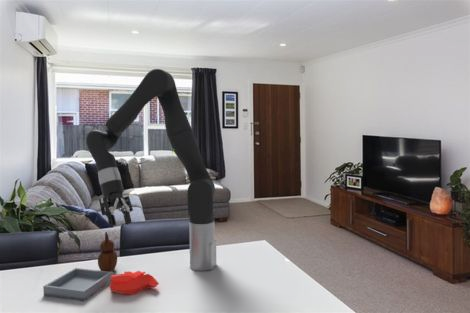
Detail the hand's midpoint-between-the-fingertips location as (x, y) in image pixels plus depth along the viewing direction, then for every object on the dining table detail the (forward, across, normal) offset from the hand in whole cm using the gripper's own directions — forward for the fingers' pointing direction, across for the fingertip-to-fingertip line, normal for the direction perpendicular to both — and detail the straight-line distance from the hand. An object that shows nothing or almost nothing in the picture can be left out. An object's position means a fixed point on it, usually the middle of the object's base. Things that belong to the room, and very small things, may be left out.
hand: (121, 225), depth 125 cm
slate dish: (+16, -12, +12) cm, 23 cm away
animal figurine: (+22, -6, -4) cm, 23 cm away
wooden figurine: (+14, +2, +12) cm, 18 cm away
